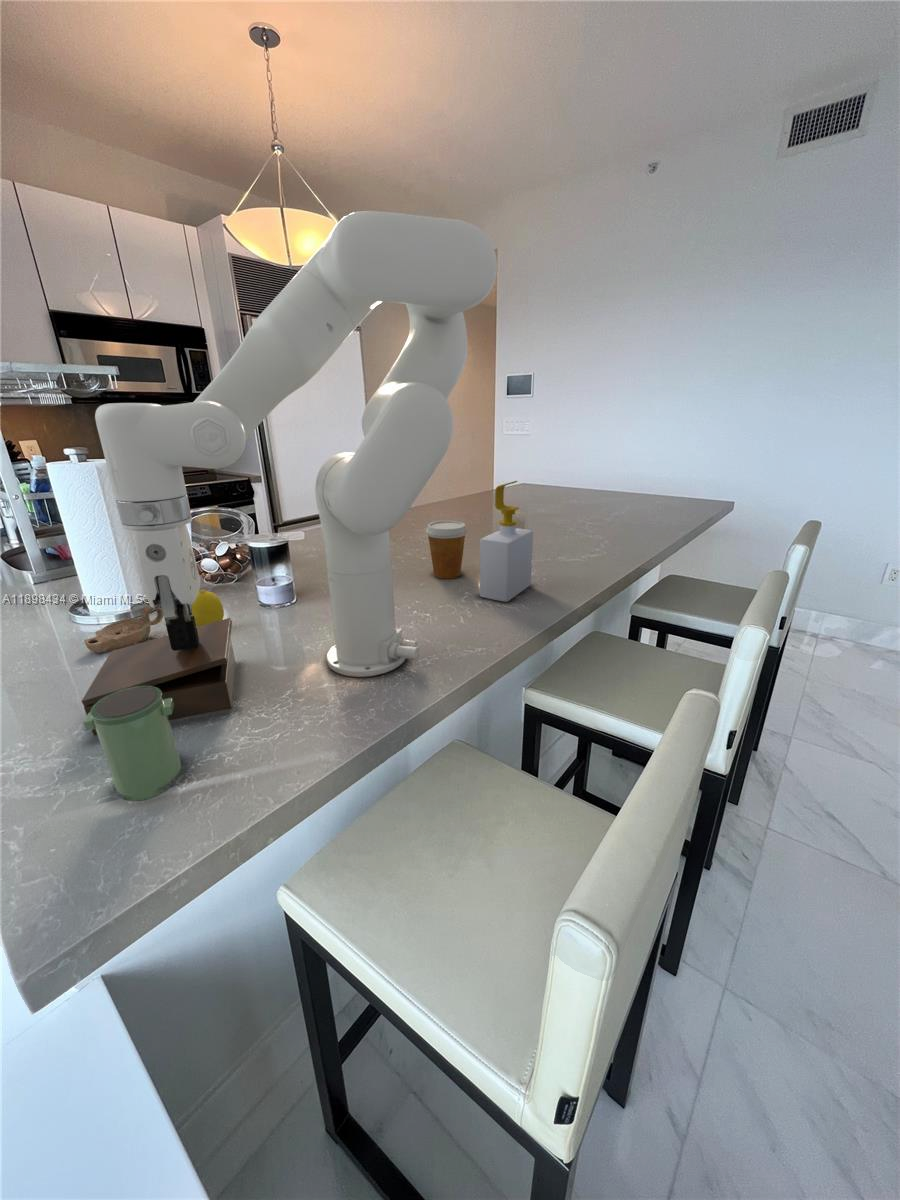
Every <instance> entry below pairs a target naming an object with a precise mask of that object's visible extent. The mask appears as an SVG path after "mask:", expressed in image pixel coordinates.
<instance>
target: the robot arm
mask: <svg viewBox="0 0 900 1200" xmlns="http://www.w3.org/2000/svg"><path fill="white" fill-rule="evenodd" d="M497 273H498V259H497V254H496V250H495V248H494V245H493V243H492V242H491V240H490V238H489V237H488V235H487V234H486V233H485V232H484V230H482V229H481V228H479V227H478V226H476V225H475V224H473V223H470V222H468V221H466V220H462V219H455V218H447V217H437V216H427V215H417V214H411V213H401V212H393V211H392V212H391V211H379V210H378V211H377V210H362V211H355V212H351V213H349V214H347V215H344V216H343V217H342V218H341V219H340V220H339V221H338V222H336V224H335V226H334V227H333V229H332V231H331V232H330V233H329V235H328V237H326V239H325V240H324V241H323V243H321V245H320V246H319V247H318V248H317V250H316V251H315V252H314V253H313V255H312V256H311V257H310V258H309V259H308V260H307V261H306V262H305V264H304V265H303V266H302V267H301V268H300V270H298V271H297V273H296V274H295V275H294V276H293V277H292V278H291V280H290V281H289V282H288V283H287V284H286V285H285V286H284V288H283V289H282V290H280V291H279V293H278V294H277V295H276V296H275V297H274V298H273V300H272V301H271V302H270V303H269V304H268V305H267V306H266V307H265V308H264V310H262V312H261V313H259V315H258V316H257V317H256V319H255V321H254V322H253V323H252V325H251V326H250V327H249V329H248V330H247V332H246V334H245V336H244V338H243V339H242V342H241V343H240V345H239V347H238V348H237V350H236V351H235V352H234V353H233V355H232V357H231V358H230V359H229V361H228V362H226V364H225V365H224V366H223V368H222V369H221V370H220V371H219V372H218V373H217V375H216V376H215V377H214V378H213V379H212V380H211V382H210V383H209V384H208V385H207V386H206V387H205V388H204V389H203V391H202V392H201V393H200V394H199V395H198V396H197V397H196V398H195V399H194V401H193V402H191V401H190V402H185V403H178V404H167V405H161V404H158V403H152V402H149V403H148V402H113V403H110V402H109V403H104V404H102V405H101V404H100V405H99V406H98V407H97V408H96V410H95V413H94V420H95V425H96V429H97V433H98V437H99V441H100V444H101V448H102V451H103V456H104V460H105V464H106V468H107V472H108V477H109V480H110V484H111V488H112V491H113V497H114V500H115V503H116V508H117V510H118V515H119V519H120V523H121V528H122V529H124V530H127V531H132V534H133V541H134V549H135V551H136V557H137V562H138V566H139V570H140V575H141V580H142V585H143V588H144V592H145V595H146V596H145V597H146V599H147V603H148V604H149V605H148V606H151V607H152V608H154V609H153V610H155V609H158V607H159V608H161V609H162V612H163V619H164V622H165V627H166V631H167V635H168V636H169V640H170V645H171V649H172V650H174V651H177V650H183V649H190V648H196V647H197V646H198V643H199V637H198V632H197V626H196V623H195V618H194V616H191V615H192V607H191V605H192V604H193V603H194V602H195V600H196V598H197V595H198V592H199V591H200V590H201V577H200V572H199V568H198V565H197V561H196V556H195V552H194V548H193V545H192V540H191V537H190V533H189V530H188V527H187V525H188V524H191V523H192V522H193V517H192V512H191V507H190V502H189V497H188V493H187V492H188V491H187V487H186V482H185V478H184V473H183V467H188V468H200V469H222V468H226V467H229V466H231V465H233V464H234V463H236V462H237V461H238V460H240V458H241V457H242V455H243V453H244V451H245V448H246V444H247V443H246V442H247V440H248V438H249V437H250V436H251V435H252V433H253V432H255V430H256V429H257V428H258V427H259V426H260V425H261V423H262V422H263V421H264V420H265V419H266V418H267V417H268V416H269V415H270V413H272V412H273V410H274V409H275V408H276V407H278V406H279V404H280V403H282V402H283V401H284V400H285V399H286V398H287V397H289V396H290V395H291V394H293V393H295V391H297V390H299V389H300V388H302V387H303V386H304V385H306V384H307V383H309V381H311V379H312V378H314V376H315V375H317V374H318V372H319V371H320V370H321V369H322V368H323V366H325V364H326V363H327V362H328V361H329V360H330V359H331V358H332V356H333V355H334V354H335V353H336V351H337V350H338V349H339V348H340V347H341V346H342V345H343V344H344V342H345V341H346V340H347V339H348V338H349V337H350V336H351V334H352V333H354V331H355V330H356V329H357V328H358V327H359V326H360V324H361V323H362V322H363V321H364V320H365V319H366V318H367V317H368V315H369V314H370V313H371V312H372V311H373V310H374V309H375V308H376V307H377V306H378V305H380V304H382V303H396V304H404V305H405V307H406V309H407V313H408V318H409V333H408V337H407V339H406V341H405V344H404V346H403V348H402V349H401V350H400V353H399V355H398V357H397V359H396V360H395V362H394V363H393V365H392V366H391V368H390V369H389V371H388V372H387V374H386V375H385V377H384V379H382V381H381V383H380V385H379V386H378V388H377V389H376V391H375V392H374V393H373V394H372V395H371V397H370V399H369V400H368V402H367V403H366V405H365V407H364V410H363V413H362V417H361V431H362V434H363V436H364V438H363V439H362V440H361V442H360V444H359V446H358V448H357V449H356V450H355V452H354V451H347V452H346V451H345V452H340V453H337V454H334V455H332V456H331V457H329V458H328V459H327V460H326V461H324V463H323V464H322V466H321V467H320V469H319V470H318V472H317V476H316V479H315V487H314V489H315V490H314V491H315V500H316V501H315V502H316V505H317V512H318V517H319V521H320V527H321V533H322V540H323V545H324V547H323V548H324V553H325V554H324V555H325V563H326V574H327V583H328V591H329V600H330V608H331V609H330V610H331V617H332V628H333V635H334V645H333V646H331V647H330V648H329V650H328V651H327V654H326V663H327V666H328V667H329V669H330V670H331V671H334V673H337V674H339V675H342V676H347V677H354V678H364V677H374V676H380V675H382V674H386V673H388V672H392V671H394V670H395V669H397V668H398V667H400V666H401V665H402V664H404V662H405V660H411V661H412V660H413V661H416V660H418V658H419V655H420V648H419V647H418V641H417V640H411V639H405V638H404V637H403V629H402V628H398V627H397V628H396V618H395V617H396V616H395V615H396V614H395V597H394V581H393V564H392V563H393V560H392V547H391V539H390V530H392V529H394V527H396V526H397V525H398V523H399V522H400V521H402V519H403V518H404V517H405V516H406V514H407V513H408V511H409V510H410V509H411V507H412V505H413V504H414V503H415V501H416V500H417V498H418V497H419V495H420V494H421V492H422V491H423V489H424V488H425V486H426V485H427V483H428V481H429V480H430V479H431V477H432V475H433V474H434V473H435V471H436V469H437V468H438V467H439V465H440V463H441V462H442V460H443V458H444V456H445V455H446V453H447V451H448V450H449V446H450V444H451V441H452V438H453V433H454V416H453V415H454V414H453V411H452V408H451V405H450V403H449V401H448V399H449V397H450V395H451V393H452V391H453V390H454V388H455V387H456V385H457V384H458V382H459V380H460V378H461V375H462V374H463V371H464V370H465V366H466V362H467V357H468V334H467V333H468V332H467V326H466V319H465V316H464V312H465V311H467V310H469V309H472V308H474V307H476V306H477V305H479V304H481V303H482V302H483V301H484V300H485V299H486V298H487V297H488V295H490V292H491V291H492V289H493V288H494V287H493V286H494V285H495V281H496V279H497Z"/></svg>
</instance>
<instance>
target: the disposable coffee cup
mask: <svg viewBox="0 0 900 1200" xmlns="http://www.w3.org/2000/svg"><path fill="white" fill-rule="evenodd" d="M467 532H468V529H467V528H466V524H465V523H464V522H462V521H457V520H437V521H433V522H430V523H428V524H427V528H426V529H425V533H426V536H427V537H428V543H429V551H430V556H431V563H432V569H433V575H434V577H436V578H439V579H454V578H457V577H460V575H461V573H462V564H463V557H464V547H465V539H466V535H467Z"/></svg>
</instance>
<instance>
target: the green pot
mask: <svg viewBox="0 0 900 1200" xmlns="http://www.w3.org/2000/svg"><path fill="white" fill-rule="evenodd" d="M173 708H174V703H173V699H172V698H168V699H163V694H162V691H161V690H160V689H159V688H157V687H153V686H136V687H131V688H126V689H123V690H120V691H117V692H114V693H112V694H110V695H108V696H106V697H104V698H102V699H101V700H99V701H98V702H97V703H96V704H95V705H94V706H93V707H92V708H91V711H90V713H88V715H86V717H85V718H84V720H83V726H84V729H85V732H86V731H92V730H93V729H96V732H97V735H96V736H97V738H98V740H99V744H100V746H101V748H102V749H101V750H102V752H103V755H104V758H105V761H106V764H107V767H108V770H109V773H110V776H111V778H112V781H113V785H114V787H115V790H116V791H117V792H118V794H120V795H123V796H126V797H122V798H121V799H122V800H125V801H128V802H140V801H144V800H149V799H151V798H154V797H157V796H159V795H161V794H163V793H165V792H167V791H168V790H169V789H171V788H172V786H169V787H165V786H166V785H168V784H169V783H170V782H172V781H173V780H174V779H175V778H176V777H177V776H178V775H179V773H180V771H181V768H182V762H181V758H180V754H179V750H178V747H177V744H176V740H175V737H174V732H173V729H172V725H171V720H169V717H168V715H171V714H172V711H173ZM162 787H164V788H162Z"/></svg>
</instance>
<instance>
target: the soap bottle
mask: <svg viewBox="0 0 900 1200" xmlns="http://www.w3.org/2000/svg"><path fill="white" fill-rule="evenodd" d="M515 483H518V480H513V481H510V482H506V483H503V484H499V485H497V486H496V487H495V490H494V491H495V493H494V507H495V509H496V510H497V511H500V513H501V515H503V519H502V520H499V522H498V523H499V530H497V531H494V532H493V533H490V534H488V535H485V536H483V537H481V538H480V541H479V597H480V598H485V599H489V600H494V601H497V602H504V603H507V602H509V601H510V600H511V599H513V598H515V597H516V596H518V595H519V594H520V593H522V592H523V591H524V590H526V589H527V588H529V587H530V586H531V582H532V565H533V543H534V542H533V541H534V530H532V529H525V528H518V527H517V521H516V520H514V519H513V515H515V514H516V511H517V510H519V509H520V508H519V506H514V505H513V506H512V505H511V506H510V505H505V501H504V500H505V499H504V498H505V497H504V495H505V488H506V486H509V485H513V484H515Z"/></svg>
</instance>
